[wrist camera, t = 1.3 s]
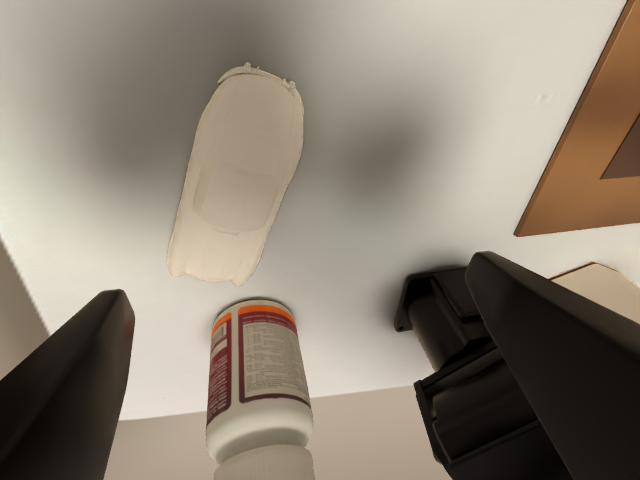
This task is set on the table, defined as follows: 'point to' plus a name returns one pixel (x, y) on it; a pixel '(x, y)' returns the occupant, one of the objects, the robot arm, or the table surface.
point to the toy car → (236, 176)
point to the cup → (605, 289)
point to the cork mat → (597, 146)
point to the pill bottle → (258, 396)
